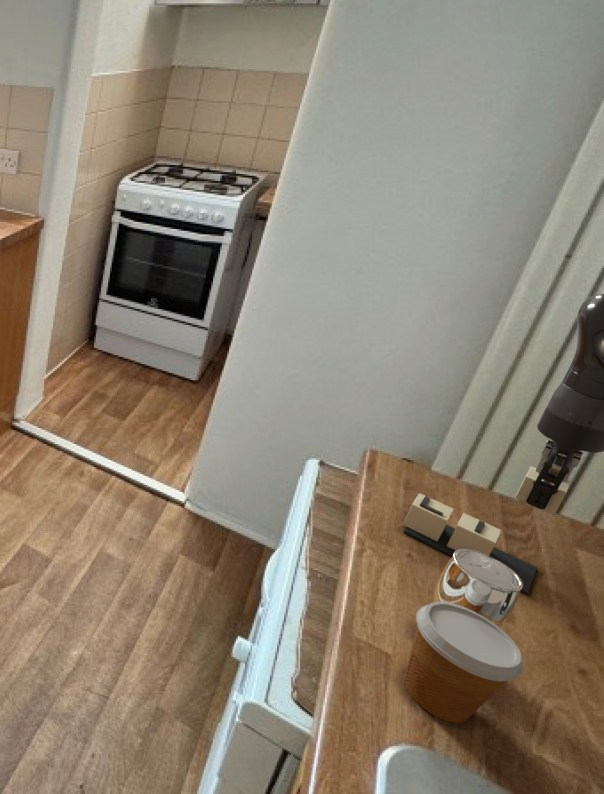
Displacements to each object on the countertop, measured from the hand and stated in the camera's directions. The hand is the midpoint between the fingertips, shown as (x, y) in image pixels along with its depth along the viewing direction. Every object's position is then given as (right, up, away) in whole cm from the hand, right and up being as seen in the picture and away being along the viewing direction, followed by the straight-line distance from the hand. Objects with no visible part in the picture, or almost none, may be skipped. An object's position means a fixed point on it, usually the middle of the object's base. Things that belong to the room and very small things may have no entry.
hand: (537, 498), depth 101 cm
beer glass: (-33, -14, -17) cm, 40 cm away
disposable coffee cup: (-40, -17, -24) cm, 50 cm away
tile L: (-17, -6, +3) cm, 18 cm away
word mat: (-13, -8, -1) cm, 16 cm away
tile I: (-13, -8, -1) cm, 15 cm away
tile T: (0, 0, 0) cm, 0 cm away
